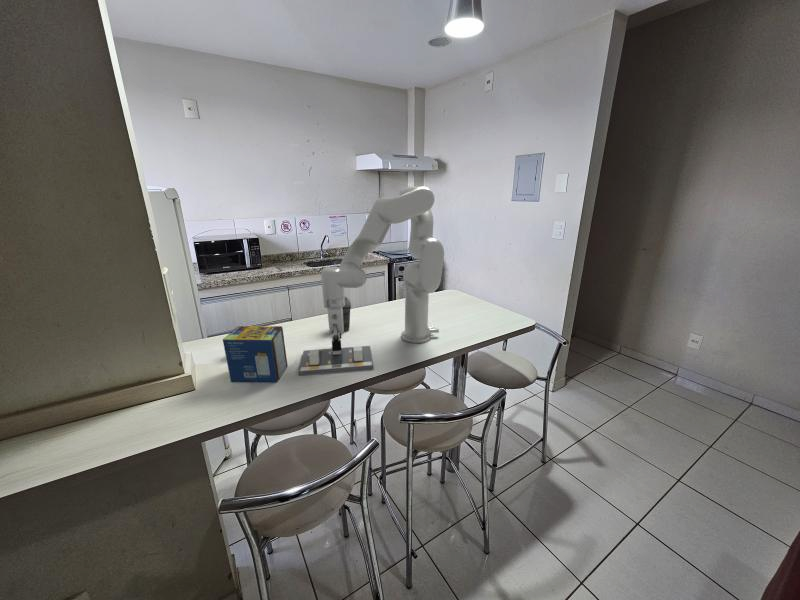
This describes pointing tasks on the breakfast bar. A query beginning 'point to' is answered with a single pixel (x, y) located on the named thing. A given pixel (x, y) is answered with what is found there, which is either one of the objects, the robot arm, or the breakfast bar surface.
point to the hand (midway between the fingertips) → (337, 344)
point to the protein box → (255, 354)
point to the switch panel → (336, 361)
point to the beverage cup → (346, 314)
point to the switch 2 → (358, 354)
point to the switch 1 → (314, 357)
